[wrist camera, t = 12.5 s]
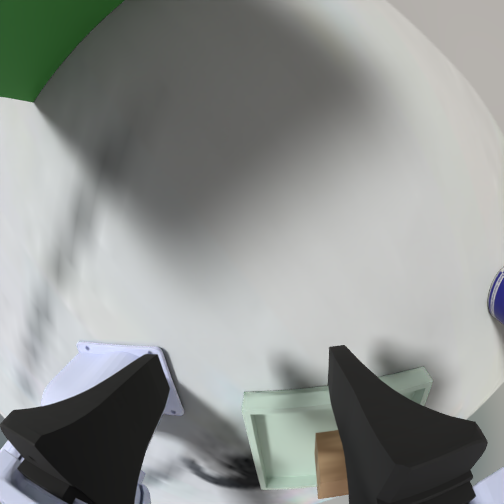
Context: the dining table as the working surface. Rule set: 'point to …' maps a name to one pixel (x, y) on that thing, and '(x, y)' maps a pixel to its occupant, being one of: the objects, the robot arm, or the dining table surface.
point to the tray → (303, 427)
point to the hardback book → (42, 39)
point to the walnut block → (330, 465)
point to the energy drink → (497, 297)
